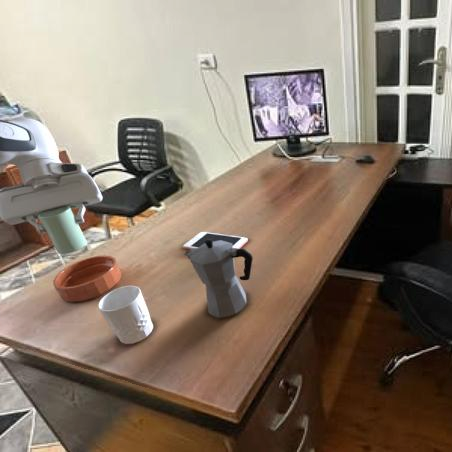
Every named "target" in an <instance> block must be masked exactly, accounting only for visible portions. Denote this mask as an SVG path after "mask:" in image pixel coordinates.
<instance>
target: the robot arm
mask: <svg viewBox="0 0 452 452" xmlns="http://www.w3.org/2000/svg"><path fill="white" fill-rule="evenodd" d="M59 155H60V153H59V149H58V146H57V144H56V141H55V139H54V137H53V135H52V133H51V132H50V130H49V129H48V127H46V125H44V124H43V122H41V121H38V120H37V119H34V118H29V117H18V118H14V119H12V120H3V119H0V176H1V175H2V173H3V172H4V171H5V169H7V167H8V166H9V165H12V166H15V167H17V169H18V172H19V175H20V179H21V181H22V183H19V184H13V185H12V186H5V187H1V188H0V219H1V220H2V221H3V222H4V223H6V224H8V225H10V226H14V225H18V224H22V223H27V222H28V223H29V224H30V225H32V226H33V227H34V228H35V230H36V232H37V234H38V235H43V234H47V232H46V230H45V229H44V227H43V225H42V223H41V224H38V220H39V218H38V215H39V214H40V213H41V212H44V211H48V210H52V209H56V208H60V207H64V206H69V207H70V208H71V210H72V211H73V210H75V209H77V210H78V211H77V214H74V218H75V221H76V223H77V224H83V223H85V219H84V215H85V212H86V207H87V206H90V205H95V204H98V203H99V204H100V203H101V202H102V201H103V197H104V196H103V195H102V192H101V190H100V189H99V187H98V185H97V183H96V181H95V180H94V178H93V177H92V176H91V175H90V174H89V173H88V171H87V169H86V168H85V167H84V165H82V164H81V163H77V162H75V163H74V162H72V163H70V162H62V161H61V160H60V156H59Z"/></svg>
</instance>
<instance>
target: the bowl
mask: <svg viewBox="0 0 452 452" xmlns="http://www.w3.org/2000/svg"><path fill="white" fill-rule="evenodd" d="M122 275H123V273H122V270H121V269H120V266H119V264H118V262H117V260H116V258H115V257H113V256H111V255H105V254H104V255H96V256H91V257H87V258H84V259H81V260H79V261H77V262H74V263H73V264H70V265H68V266H66V267H65V268H64V269H62V270H61V271H59V273H58V274H57V275H56V276H55V277H54V278H53V280H52V283H53V287H54V288H55V290H56V291H57V293H58V295H59V296H60V298H61V299H62V300H64V301H66V302H71V303H72V302H83V301H88V300H91V299H94V298H97V297H99V296H101V295H103V294H105V293H107V292H108V291H110V290H111V289H112V288H114V287H115V285H117V283H119V281H120V280H121V278H122Z"/></svg>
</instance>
